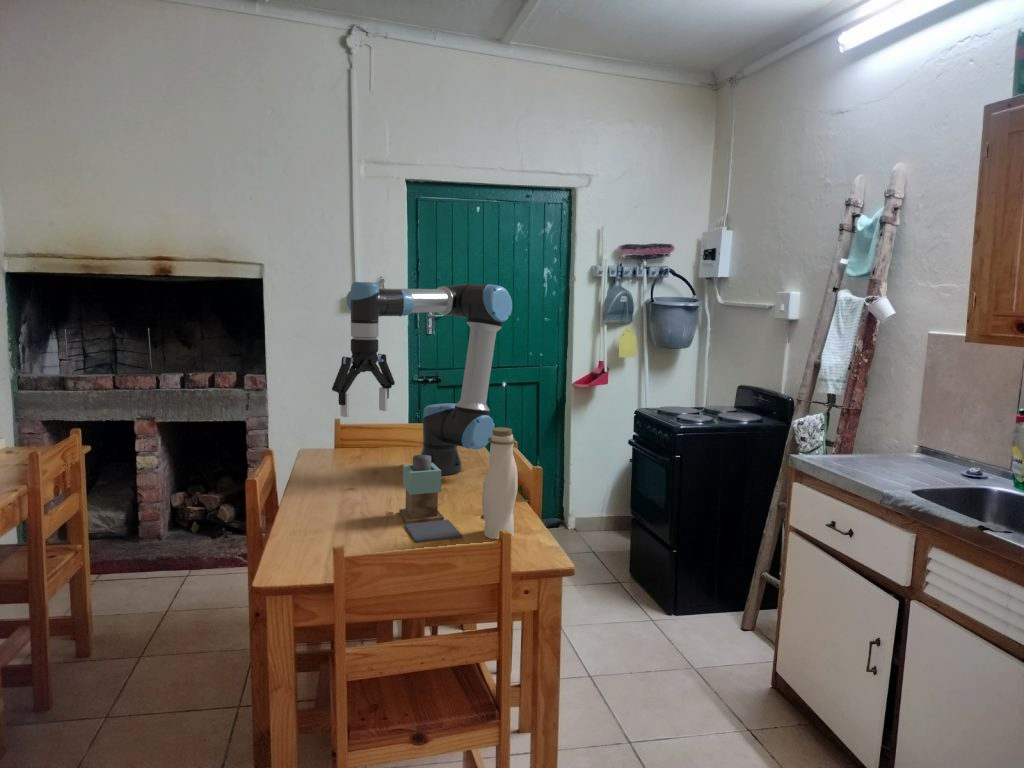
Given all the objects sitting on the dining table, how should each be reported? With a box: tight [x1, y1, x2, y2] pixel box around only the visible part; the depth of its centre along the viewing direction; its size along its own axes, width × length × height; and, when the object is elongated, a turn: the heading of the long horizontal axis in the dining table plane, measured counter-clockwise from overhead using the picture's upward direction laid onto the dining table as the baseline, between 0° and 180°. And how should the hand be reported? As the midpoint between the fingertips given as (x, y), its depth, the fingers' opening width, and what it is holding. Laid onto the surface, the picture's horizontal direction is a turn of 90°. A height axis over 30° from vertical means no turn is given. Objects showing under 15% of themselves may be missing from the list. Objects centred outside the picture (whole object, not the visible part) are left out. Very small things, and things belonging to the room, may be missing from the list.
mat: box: [404, 519, 463, 543], centre depth 177 cm, size 12×12×1 cm
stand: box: [398, 454, 445, 524], centre depth 187 cm, size 10×10×17 cm
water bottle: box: [481, 426, 519, 540], centre depth 176 cm, size 10×9×28 cm
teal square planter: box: [402, 463, 442, 495], centre depth 187 cm, size 8×8×6 cm
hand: (364, 413), depth 191 cm, fingers open, 13 cm apart
